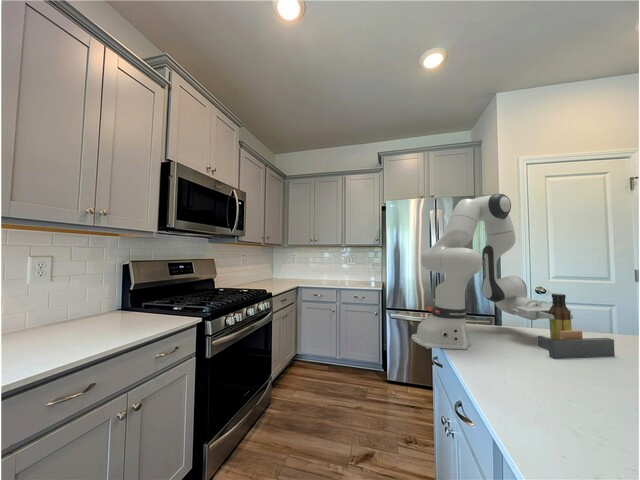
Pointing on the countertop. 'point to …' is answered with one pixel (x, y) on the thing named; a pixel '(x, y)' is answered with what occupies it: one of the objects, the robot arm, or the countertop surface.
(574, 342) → the grey base block
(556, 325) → the sauce bottle
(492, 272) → the robot arm
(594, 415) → the countertop surface
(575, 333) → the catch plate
